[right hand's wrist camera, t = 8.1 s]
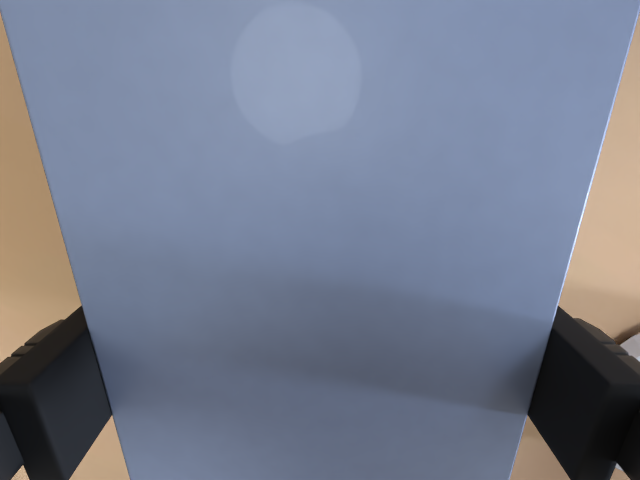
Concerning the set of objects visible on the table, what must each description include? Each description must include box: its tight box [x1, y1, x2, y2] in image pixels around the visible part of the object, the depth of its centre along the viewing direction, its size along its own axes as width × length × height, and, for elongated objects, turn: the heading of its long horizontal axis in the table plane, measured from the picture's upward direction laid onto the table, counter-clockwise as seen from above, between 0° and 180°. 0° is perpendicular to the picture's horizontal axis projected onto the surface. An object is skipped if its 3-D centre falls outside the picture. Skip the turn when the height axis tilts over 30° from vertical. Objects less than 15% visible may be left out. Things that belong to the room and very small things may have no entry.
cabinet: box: [0, 0, 640, 480], centre depth 11 cm, size 20×11×9 cm, turn 0°
